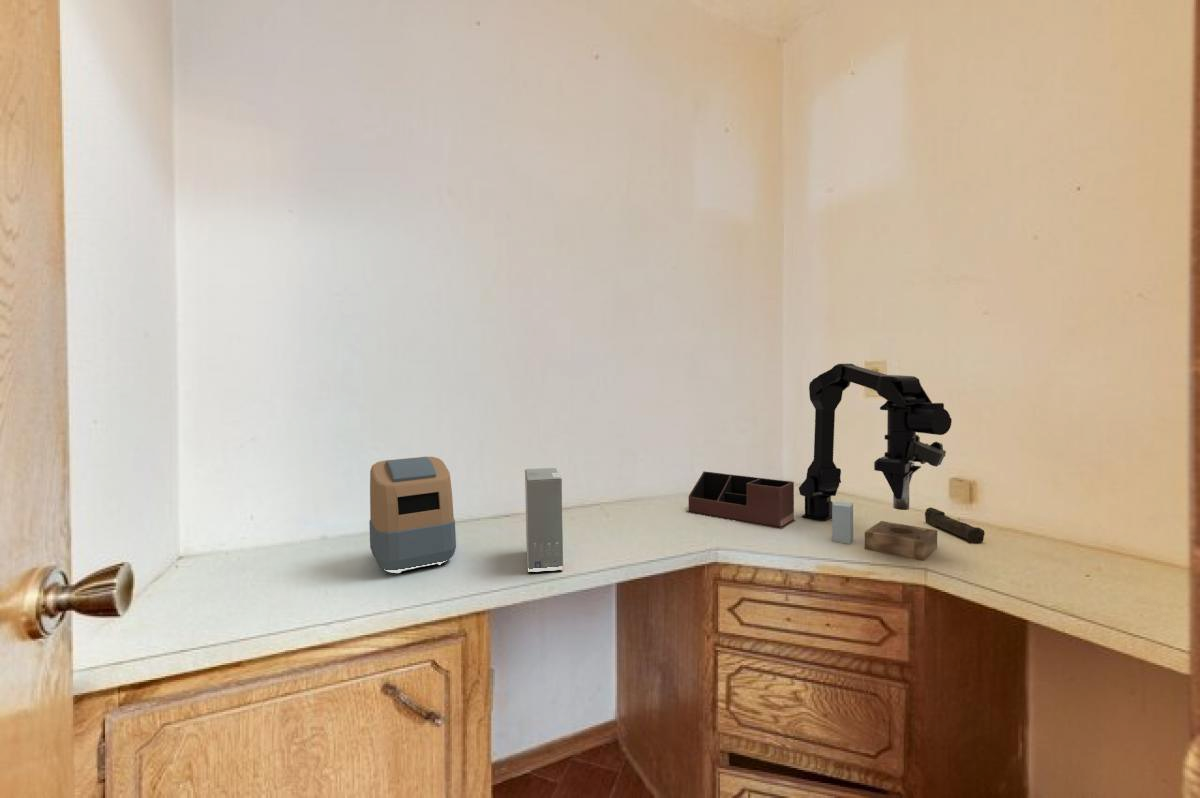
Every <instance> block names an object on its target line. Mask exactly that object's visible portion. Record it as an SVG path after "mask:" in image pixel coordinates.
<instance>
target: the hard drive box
mask: <svg viewBox="0 0 1200 798" xmlns="http://www.w3.org/2000/svg"><path fill="white" fill-rule="evenodd" d="M562 480H563V478H562V477H561V475H560V472H559V471H558V470H557V468H556V467H546V468H545V467H544V468H543V467H541V468H540V467H539V468H525V470H524V487H525V489H524V490H525V492H524V495H525V531H526V532H525V534H526V535H525V536H526V537H525V538H526V542H525V543H526V557H527V558H526V563H527V569H528V568H529V569H533V568H547V567H559V566H563V567H564V546H563V545H564V537H563V536H564V535H563V494H562V493H563V491H562V490H563V483H562V482H563V481H562Z"/></svg>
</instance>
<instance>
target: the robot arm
mask: <svg viewBox="0 0 1200 798" xmlns="http://www.w3.org/2000/svg"><path fill="white" fill-rule="evenodd" d="M852 383H853V384H855V385H856V384H857V385H859V386H862V387H865V388H868V389H871V390H873V391H875V392H876V393H877V394H878V396H880V397H882V398H883V399H885V400H886V401H885V403H884V404H882V405H880V407H879V410H881V411H887V418H886V419H887V422H886V424H887V426H886V427H887V428H886V429H887V433H886V434H884V440H887V441H886V443H887V445H886V447H887V448H886V449H887V451H885V452H884V456H881V457H879V458H877V459H876V460H875V461H874V462H873V463H874V464H873V467H874V468H873V471H876V472H881V473H882V474H883V476H884V478H885V479H886V481H887V484H888V486H889V487H890V490H891V492H892V494H894V496H895V498H896V499H902V494H903V489H904V484H905V478H906V477H907V476H908V475H909V485H911V480H912V478H913V474H914V473H915V472H917V471H918V470H919V469H921V468H922V466H921V465H924V464H926V463H927V464H929V465H930V466H932V467H935V468H936V467H938V466H941V464H942V462H943V460H944V457H946V453H947V451H946V450H945V449H944V446H943V443H941V442H938V441H934V442H932V443H931V444H929V443H924V442H921V439H920V438H921V437H920V436H919V434H929V435H934V436H935V435H937V436H943V435H946V434H947V433H948V432H949V430H950V428H951V427H952V422H953V421H952V420H953V419H952V417H951V415H950V413H949V411H948V410H947V409H945V403H943V402H932V400H931V399H930V397H929V396H928V394H927V393H926V390H925V389H924V388H923V386H922V384H921V382H920V379H919V378H918V377H916V376H912V375H895V374H885V373H882V372H879V371H875V370H871V369H869V368H865V367H860V366H859V365H855V364H853V363H837V364H835V365H834V366H833V367H832V368H831V369H829V370H827V371H824V372H822V373H821V374H819V375H818V376H816V377H815V378H813V379H812V380H811V381H810V382H809V386H808V391H809V400H810V403H811V404H812V405H813V407H814V409H815V413H814V414H815V416H814V437H813V439H814V442H813V443H814V446H813V460H812V461H811V463H810V465H809V466H808V468H807V470H806V477H805V479H804V480H803V482H802V483H801V484H800V486H799V487H798V491H799V495H800V496H803V497H804V514H802V516H801V517H802V518H806V519H807V518H808V519H813V520H818V521H827V520H830V519H832V505H833V504H834V503H833V501H832V497H835V496H836V495H837V492H838V489H839V487H840V484H841V483H842V480H841V474H842V470H841V468H839V467H837V465H836V463H835V462H834V447H835V445H834V444H835V440H834V439H835V419H836V417H835V416H836V409H837V408H838V406H839V404H840V403H841V401H842V400H843V393H844V391H845V390H846V389H847V388H849V387H850V385H851V384H852ZM917 433H919V434H917ZM916 462H917V463H919V464H921V465H915V463H916Z"/></svg>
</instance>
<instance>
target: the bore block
mask: <svg viewBox="0 0 1200 798" xmlns="http://www.w3.org/2000/svg"><path fill="white" fill-rule="evenodd" d="M937 548H938V529H933V528H927V527H920V526H914V525H908V524H903V523H896V522H891V521H884V520H881V521H879V522H877V523H876V524H874V525H873V526H870V528H869V529H866V530H865V531H864V549H866V550H868V551H869V550H870V551H875V552H879V553H884V554H888V555H894V556H899V557H905V558H909V559H915V560H919V561H925V560H926V559H927V558H928V557H929V556H930V555H931V554H932V553H933V552H934V551H935V550H936V549H937Z"/></svg>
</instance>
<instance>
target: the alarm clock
mask: <svg viewBox="0 0 1200 798" xmlns="http://www.w3.org/2000/svg"><path fill="white" fill-rule="evenodd" d="M369 473H370V474H369V497H370V498H369V508H370V509H369V512H370V516H369V517H370V519H369V548H370V551H371V554H372V557H374V559H375V561H376V562H377V564H378V566H379V567H380V568H381V569H382V568H383V569H385V570H398V569H405V568H411V567H416V566H422V565H427V564H432V563H437V562H443V561H446V560H449V559H450V558H451V559H452V558H453V556H454V555H455V552H456V548H457V536H456V534H457V533H456V520H455V519H456V518H455V517H454V504H453V503H454V501H453V490H452V489H453V488H452V479H451V473H450V470H449V469H448V467H447V466H446V463H445V462H444V461H443V460H442V459H440V458H439V457H435V456H419V457H407V458H396V459H386V460H381V461H377V462H376V463H374V464H372V465H371V468H370V471H369ZM451 559H450V560H451ZM450 560H449V561H450ZM383 569H382V570H383Z"/></svg>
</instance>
